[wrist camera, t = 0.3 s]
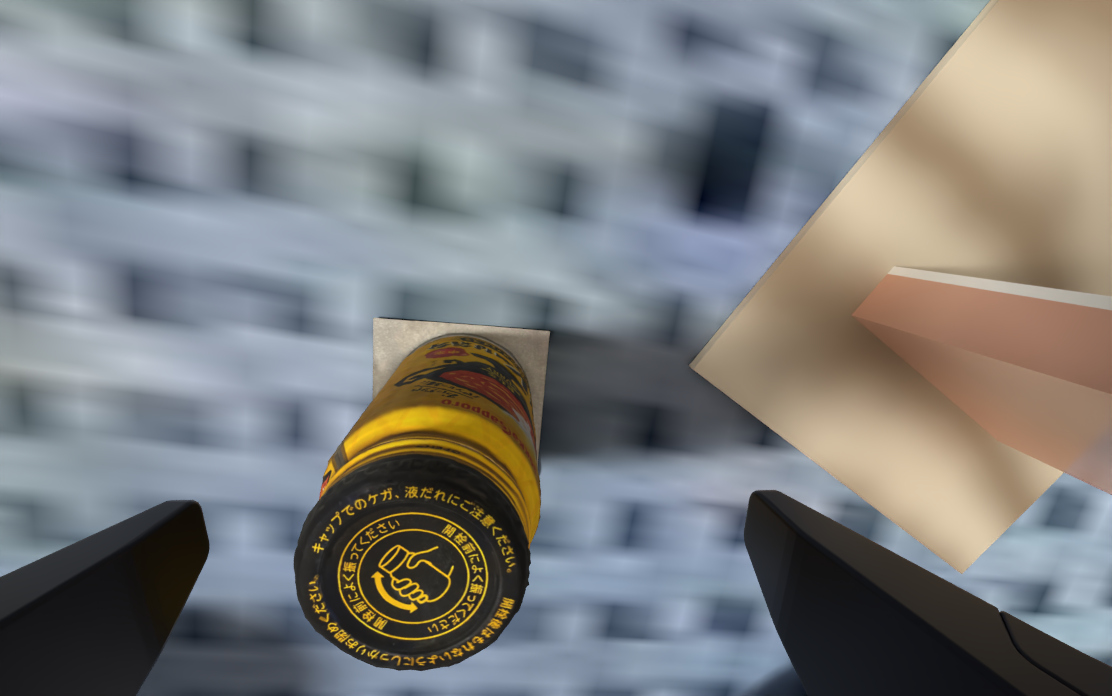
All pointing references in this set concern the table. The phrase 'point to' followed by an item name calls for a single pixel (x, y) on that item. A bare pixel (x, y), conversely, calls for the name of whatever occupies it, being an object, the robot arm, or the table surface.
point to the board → (937, 269)
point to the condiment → (430, 498)
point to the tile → (1009, 360)
